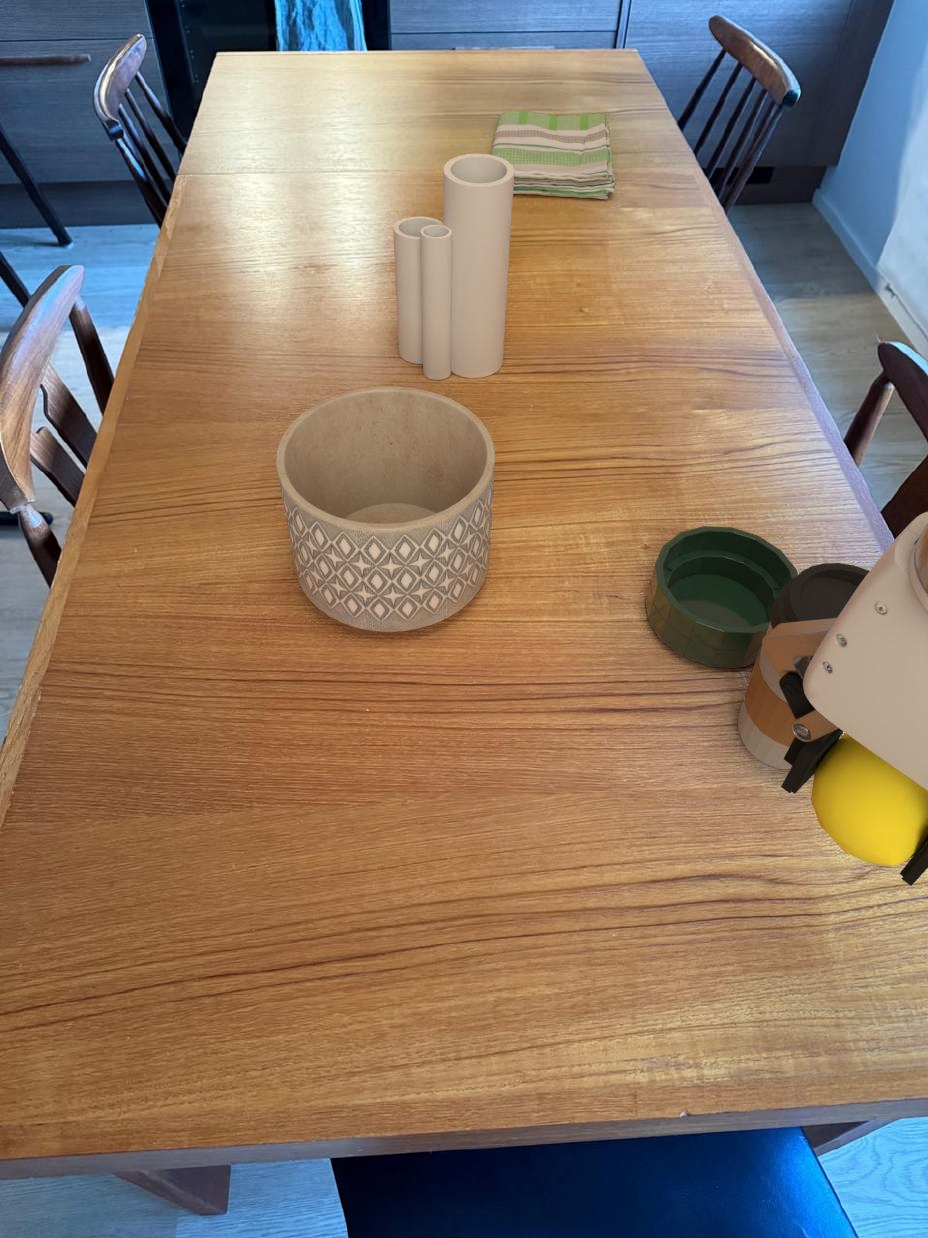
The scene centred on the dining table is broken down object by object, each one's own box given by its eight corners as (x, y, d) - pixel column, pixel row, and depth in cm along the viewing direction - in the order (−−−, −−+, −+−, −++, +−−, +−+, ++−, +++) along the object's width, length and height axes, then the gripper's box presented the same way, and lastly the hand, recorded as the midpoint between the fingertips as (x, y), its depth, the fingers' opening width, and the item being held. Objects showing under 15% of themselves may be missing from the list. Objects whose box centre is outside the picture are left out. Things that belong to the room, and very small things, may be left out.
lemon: (930, 888, 43) (981, 836, 39) (818, 891, 43) (857, 840, 39) (882, 761, 47) (922, 703, 43) (781, 764, 47) (812, 705, 43)
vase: (502, 342, 99) (513, 153, 83) (503, 381, 94) (515, 190, 78) (400, 339, 98) (392, 150, 83) (395, 378, 94) (386, 186, 78)
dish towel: (485, 195, 120) (486, 168, 117) (494, 123, 135) (496, 98, 132) (613, 202, 119) (617, 175, 117) (609, 129, 134) (612, 104, 131)
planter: (519, 537, 79) (530, 422, 70) (433, 671, 70) (432, 559, 60) (359, 479, 84) (348, 364, 74) (258, 598, 74) (230, 483, 65)
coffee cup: (768, 671, 71) (832, 537, 59) (858, 741, 67) (946, 613, 55) (699, 728, 67) (752, 598, 55) (790, 806, 63) (868, 683, 52)
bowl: (809, 620, 74) (829, 580, 70) (727, 696, 69) (744, 657, 65) (700, 548, 79) (713, 506, 75) (617, 613, 74) (627, 572, 70)
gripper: (1361, 651, 28) (1065, 890, 42) (871, 406, 36) (758, 673, 50) (1283, 795, 25) (989, 1003, 39) (763, 490, 33) (673, 751, 47)
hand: (860, 815), depth 44 cm, fingers closed on lemon, 5 cm apart
